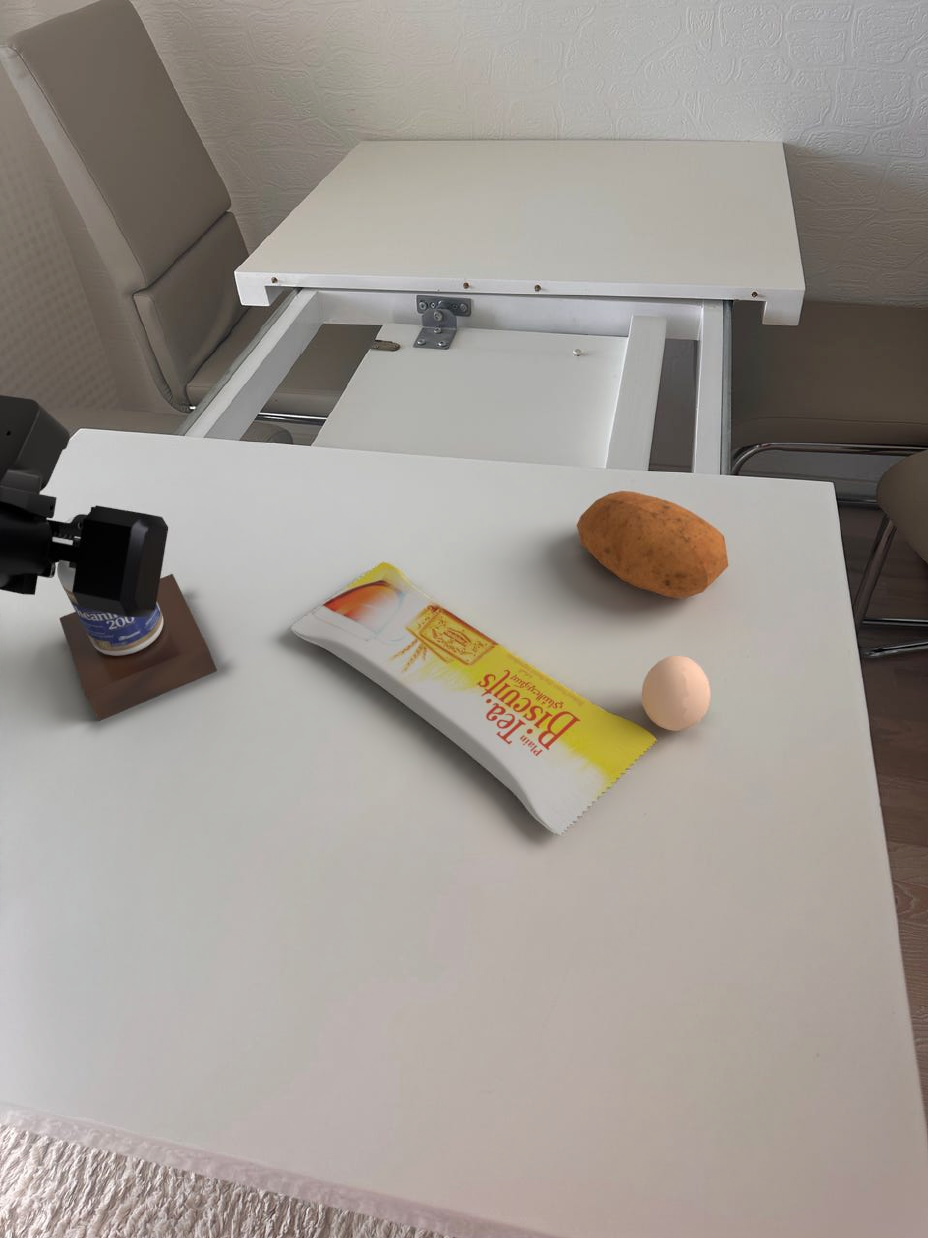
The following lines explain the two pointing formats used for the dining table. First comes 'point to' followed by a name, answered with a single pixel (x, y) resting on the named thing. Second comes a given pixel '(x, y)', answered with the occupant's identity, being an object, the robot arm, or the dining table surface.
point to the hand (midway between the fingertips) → (109, 554)
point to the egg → (676, 693)
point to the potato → (653, 543)
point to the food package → (479, 695)
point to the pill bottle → (110, 620)
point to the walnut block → (141, 658)
